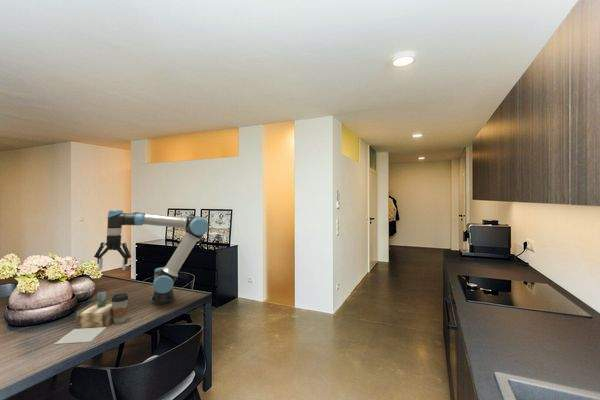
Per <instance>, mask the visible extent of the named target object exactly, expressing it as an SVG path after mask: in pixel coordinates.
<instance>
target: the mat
mask: <svg viewBox="0 0 600 400" xmlns="http://www.w3.org/2000/svg"><path fill="white" fill-rule="evenodd" d="M107 328H108V326H107V327H100V328H83V329H76V328H73V329H72V330H71V331H69V332H68V333H67V334H65V335H64V336H63V337H62V338H60V339H59V340H57V341H56V342H54V343H53V345H69V344H86V343H92V342H93V341H94V340H95V339H96V338H98V337H99V336H100V334H102V333H103V332H104V331H105V330H106V329H107Z"/></svg>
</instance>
